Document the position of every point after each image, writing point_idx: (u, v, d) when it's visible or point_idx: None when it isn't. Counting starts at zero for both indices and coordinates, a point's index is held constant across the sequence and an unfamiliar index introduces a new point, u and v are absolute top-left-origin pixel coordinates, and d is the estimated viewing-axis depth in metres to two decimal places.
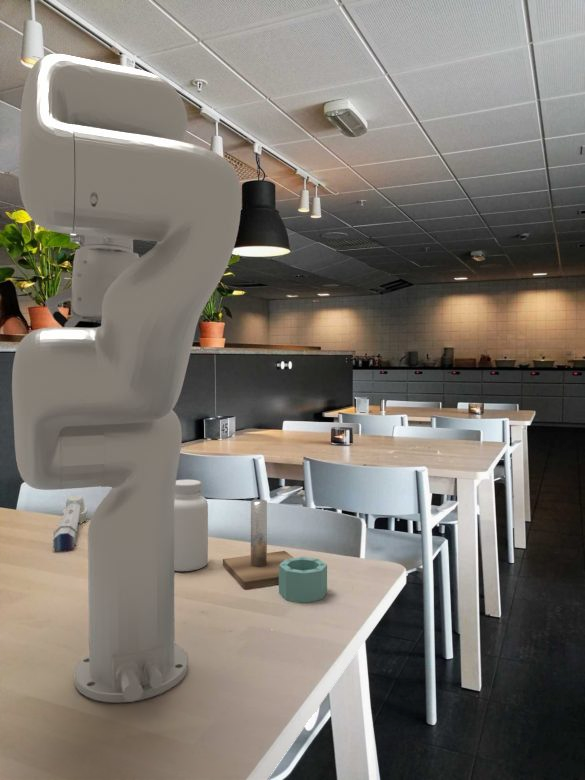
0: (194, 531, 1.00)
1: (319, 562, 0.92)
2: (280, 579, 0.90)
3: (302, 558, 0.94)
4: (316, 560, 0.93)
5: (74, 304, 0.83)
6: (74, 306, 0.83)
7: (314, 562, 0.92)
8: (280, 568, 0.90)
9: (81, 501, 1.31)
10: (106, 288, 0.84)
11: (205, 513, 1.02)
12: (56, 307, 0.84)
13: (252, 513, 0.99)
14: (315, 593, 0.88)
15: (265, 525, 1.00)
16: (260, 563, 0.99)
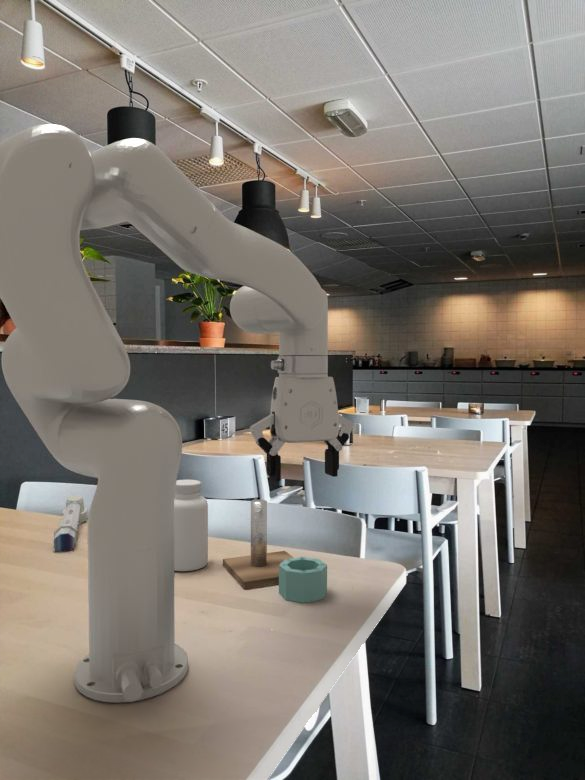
0: (194, 531, 1.00)
1: (319, 562, 0.92)
2: (280, 579, 0.90)
3: (302, 558, 0.94)
4: (316, 560, 0.93)
5: (280, 432, 0.86)
6: (280, 434, 0.86)
7: (314, 562, 0.92)
8: (280, 568, 0.90)
9: (81, 501, 1.31)
10: (308, 414, 0.87)
11: (205, 513, 1.02)
12: (261, 434, 0.87)
13: (252, 513, 0.99)
14: (315, 593, 0.88)
15: (265, 525, 1.00)
16: (260, 563, 0.99)
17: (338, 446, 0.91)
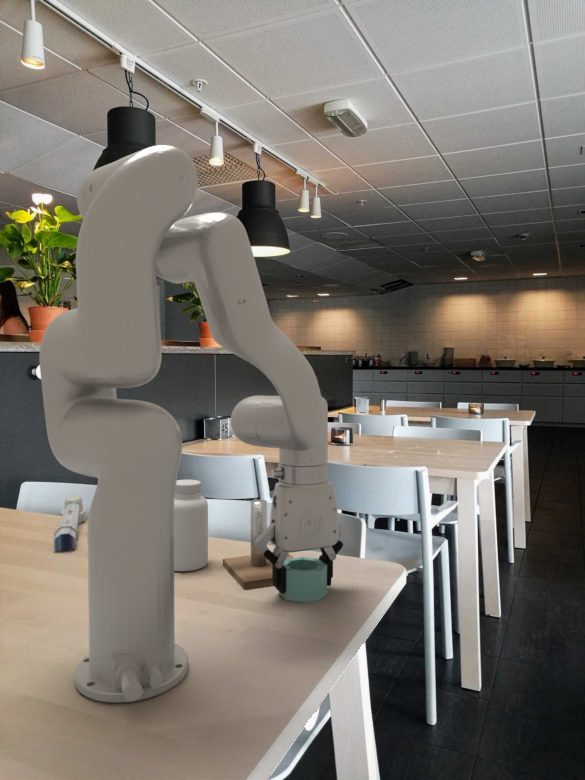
0: (194, 531, 1.00)
1: (319, 562, 0.92)
2: None
3: (302, 558, 0.94)
4: (316, 560, 0.93)
5: (280, 542, 0.86)
6: (280, 544, 0.86)
7: (315, 562, 0.92)
8: None
9: (80, 501, 1.31)
10: (308, 523, 0.88)
11: (205, 513, 1.02)
12: (266, 547, 0.88)
13: (252, 513, 0.99)
14: (315, 593, 0.88)
15: (265, 525, 1.00)
16: (260, 563, 0.99)
17: (332, 555, 0.91)
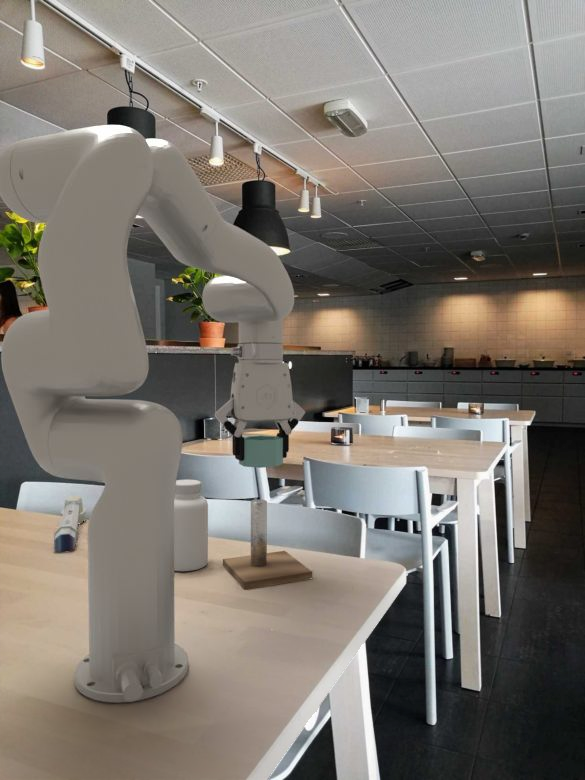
0: (194, 531, 1.00)
1: (276, 437, 1.01)
2: None
3: (261, 435, 1.02)
4: (274, 436, 1.01)
5: (238, 412, 0.95)
6: (238, 413, 0.95)
7: (272, 437, 1.01)
8: None
9: (80, 501, 1.31)
10: (264, 396, 0.96)
11: (205, 513, 1.02)
12: (225, 418, 0.96)
13: (252, 513, 0.99)
14: (270, 460, 0.97)
15: (265, 525, 1.00)
16: (260, 563, 0.99)
17: (288, 430, 1.00)
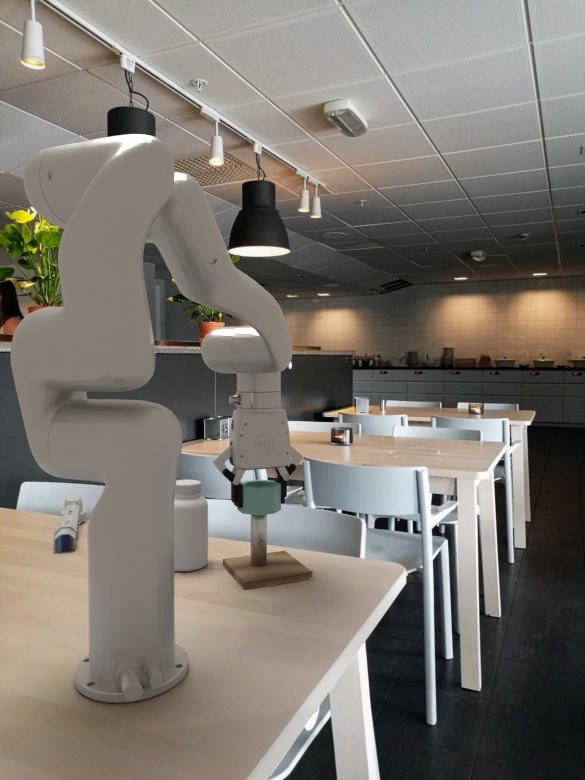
0: (194, 531, 1.00)
1: (274, 482, 1.01)
2: None
3: (259, 480, 1.03)
4: (272, 481, 1.02)
5: (237, 460, 0.96)
6: (237, 462, 0.96)
7: (270, 483, 1.02)
8: None
9: (80, 501, 1.31)
10: (262, 444, 0.97)
11: (205, 513, 1.02)
12: (224, 466, 0.97)
13: None
14: (269, 507, 0.97)
15: (265, 525, 1.00)
16: (260, 563, 0.99)
17: (286, 476, 1.01)
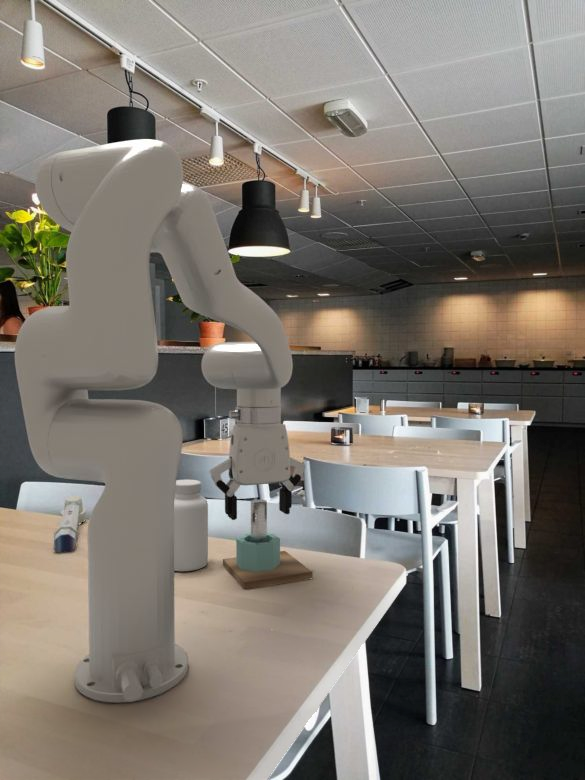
0: (194, 531, 1.00)
1: (273, 536, 1.02)
2: (237, 551, 1.00)
3: None
4: (271, 535, 1.02)
5: (236, 476, 0.96)
6: (236, 477, 0.96)
7: (269, 537, 1.02)
8: (237, 541, 1.00)
9: (80, 502, 1.30)
10: (262, 459, 0.97)
11: (205, 513, 1.02)
12: (219, 477, 0.97)
13: (252, 513, 0.99)
14: (267, 563, 0.98)
15: (265, 525, 1.00)
16: None
17: (290, 486, 1.01)
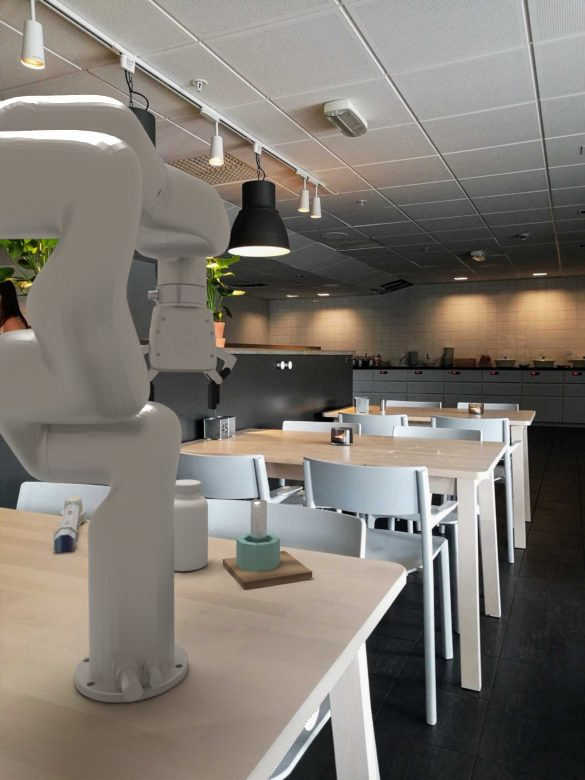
0: (194, 531, 1.00)
1: (273, 536, 1.02)
2: (237, 551, 1.00)
3: None
4: (271, 535, 1.02)
5: (152, 359, 0.86)
6: (152, 361, 0.86)
7: (269, 537, 1.02)
8: (237, 541, 1.00)
9: (79, 502, 1.30)
10: (182, 343, 0.88)
11: (205, 513, 1.02)
12: None
13: (252, 513, 0.99)
14: (267, 563, 0.98)
15: (265, 525, 1.00)
16: None
17: (218, 379, 0.91)
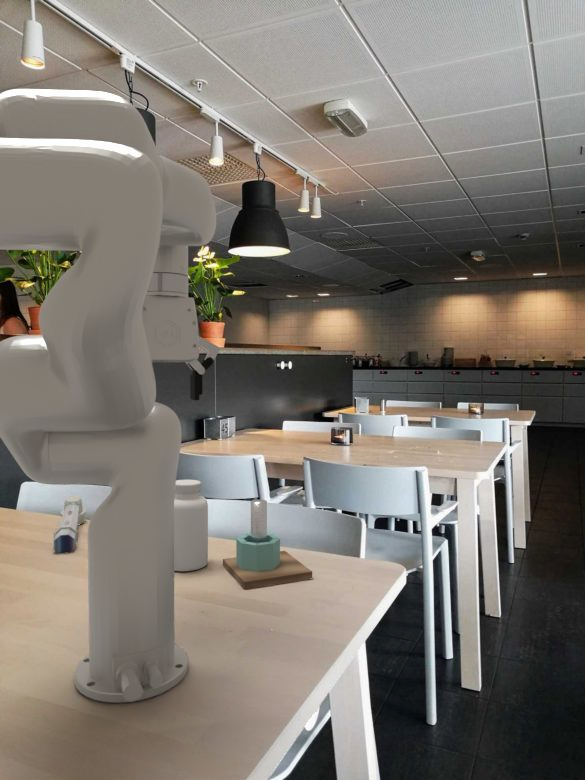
0: (194, 531, 1.00)
1: (273, 536, 1.02)
2: (237, 551, 1.00)
3: None
4: (271, 535, 1.02)
5: None
6: None
7: (269, 537, 1.02)
8: (237, 541, 1.00)
9: (79, 502, 1.30)
10: (164, 333, 0.86)
11: (205, 513, 1.02)
12: None
13: (252, 513, 0.99)
14: (267, 563, 0.98)
15: (265, 525, 1.00)
16: None
17: (200, 369, 0.90)
